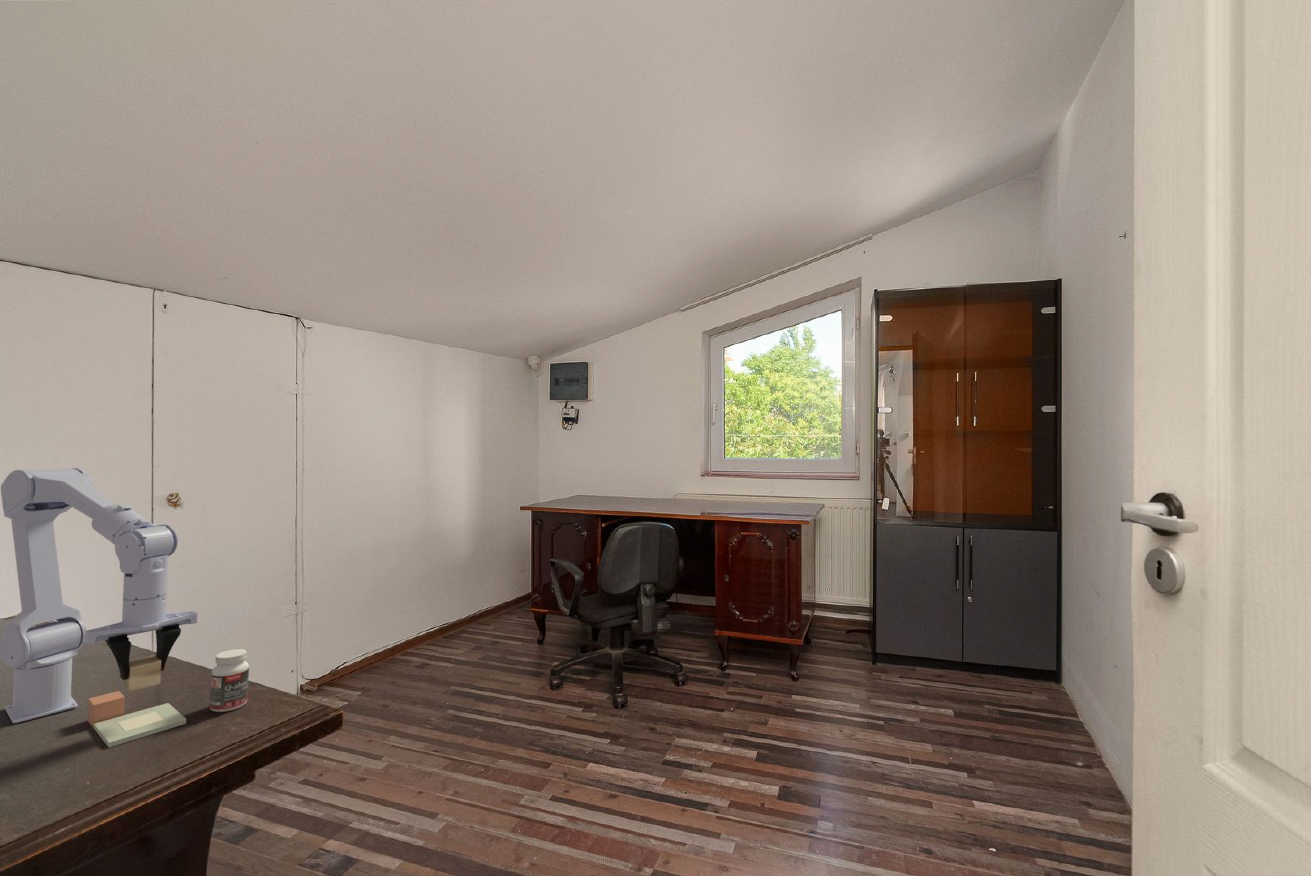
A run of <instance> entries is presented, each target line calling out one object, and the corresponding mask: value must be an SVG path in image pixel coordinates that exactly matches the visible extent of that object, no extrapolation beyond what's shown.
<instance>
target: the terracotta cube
mask: <svg viewBox="0 0 1311 876" xmlns="http://www.w3.org/2000/svg"><path fill="white" fill-rule="evenodd" d="M87 702H88V703H87V706H88V707H87V708H88V709H87V722H88V724H89V725H90V726H91V727H92V729H94V724H95V723H99V722H102V721H106V720H109V719H113V718H116V717H120V716H123V715H125V711H126V710H125V706H126V697H125V695H124V694H123V693H122V692H121V691H120V690H117V691H113V692H109V693H105V694H101V695H97V696H94V697H89V698H88V700H87Z"/></svg>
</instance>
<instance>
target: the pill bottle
mask: <svg viewBox="0 0 1311 876" xmlns="http://www.w3.org/2000/svg"><path fill="white" fill-rule="evenodd" d="M247 654H248V653H247V650H246V649H243V648H238V649H236V648H235V649H229V650H224V651H221V652H219V653H217V654H216V655H215V661H214V662H215V664H216V665H215V666H214V667H213V668H212V669H211V673H210V674H211V677H210V697H209V709H210V710H211V711H212V712H215V713H223V712H231V711H235V710H237V709H240V708H242V707H243V706H245V705H246V704H247V703H248V699H249V698H248V697H249V674H250V673H249V671H250V665H249V663H248V661H245V660H246V659H247V657H248V655H247ZM247 681H248V682H247Z"/></svg>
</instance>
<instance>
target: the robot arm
mask: <svg viewBox="0 0 1311 876" xmlns="http://www.w3.org/2000/svg"><path fill="white" fill-rule="evenodd" d="M0 492H1V493H0V495H1V496H0V497H1V503H2V509H3V516H4V517H5V518H7V519H10V520H11V529H12V538H13V539H12V540H13V544H14V545H13V546H14V547H13V548H14V554H15V556H14V557H15V563H16V573H17V578H18V579H17V581H18V590H19V597H20V599H19V600H20V607H21V608H20V609H21V611H19V613H17V614H16V615H15V616H14V617H13V618H11V619H10V620H9V621H8V622H6V623H5V624H4V625H3V626H2V627H1V638H0V639H1V640H0V659H1V661H2V663H4V664H5V665H6V666H8V667H9V668H13V669H14V671H13V689H12V690H13V693H12V696H13V697H12V703H11V704H6V705H5V706H4V710H5V712H6V713H7V715H8V718H9V719H10V721H11V722H12V724H19V723H21V722H25V721H29V720H33V719H37V718H41V717H45V716H49V715H52V714H53V715H54V714H57V713H61V712H64V711H67V710H71V709H75V708H77V707H78V706H79V705H78V703H77V702H76V700H75V699H74V698H73V697H72V679H73V678H72V675H73V671H72V670H73V657H74V656H77V655H78V650H80V649H82V647H83V646H84V645H85V644H86V645H92V644H96V643H98V642H102V641H105V643H106V645H107V646H108V647H109V649H110V651H111V653H112V655H113V656H114V659H115V661H116V664H117V667H118V671H119V677H120V679H121V680H123V681H124V680H127V679H129V661H130V655H131V648H132V642H131V641H130V638H129V637H128V636H132V635H138V634H142V633H147V632H152V631H154V632H155V640H156V641H155V642H156V643H155V644H156V652H155V656H156V657H157V658H159V659H160V660H161V672H163V671H164V670H165V668H166V663H167V660H168V658H169V655H170V653H171V651H172V648H173V646H174V645H175V643H176V641H177V640H178V638H179V637H180V636H181V633H182V628H181V627H180V626H185V625H194V624H198V612H197V611H195V610H192V611H184V612H177V613H176V612H175V613H167V601H168V600H167V598H168V595H167V594H168V571H169V570H168V569H169V556H171V555H173V554H174V553H175V552H176V550H177V547H178V541H179V539H178V536H177V533H176V531H175V530H174V529H173V528H172V527H171V526H170V525H169V524H167V523H166V524H165V523H164V524H158V523H152V522H150V520H148V519H147V518H144V517H143V516H142V515H140V514H139V513H138V512H136V511H135V510H133V509H132V506H131V505H129V504H128V503H127V504H126V503H125V504H122V503H114V504H113V503H112V502H111V501H110V500H108V498H106V496H105V495H103V494H102V493H101V492H100V491H98V490H97V489H96V488H95V487H94V486H93V477H92V476H91V475H90V474H88V473H87V472H86V471H85V470H84V469H82V468H79V467H74V468H64V469H63V468H62V469H61V468H60V469H30V470H29V469H27V470H25V469H15V470H13V471H11V472H10V473H9V474H8V475H7V476H6V478H4V480H3V482H2V483H1V485H0ZM72 508H73V509H75V510H76V511H78V512H80V513H82V514H83V515H84V516H87V517H88V518H90V519H92V521H91V527H92V529H93V530H94V532H97V533H98V534H99V535H101V536H102V537H104V538H105V539H106V540H107V541H109V542H110V543H111V544H112V545H114V551H115V555H116V558H117V559H118V561H119V570H120V573H123V584H122V585H123V590H122V611H121V615H122V616H121V621H120V622H115V623H112V624H108V625H104V626H100V627H97V628H92V629H87V626H86V625H85V623H84V621H83V619H82V615H81V610H80V609H78V608H75V607H72V606H70V605H68V604H65V603H64V600H63V592H62V584H61V576H60V574H61V573H60V566H59V560H58V559H59V558H58V550H57V542H56V534H55V533H56V532H55V526H54V525H55V524H54V522H55V520H56V519H57V517H59V516H60V515H61V514H63V513H66V512H68V511H69V510H70V509H72ZM52 621H55V622H52ZM48 622H49V623H48ZM43 623H46V624H43ZM40 624H43V625H40ZM37 625H38V626H37Z"/></svg>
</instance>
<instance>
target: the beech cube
mask: <svg viewBox="0 0 1311 876" xmlns="http://www.w3.org/2000/svg"><path fill="white" fill-rule="evenodd" d="M161 679H162V671H161V660H160V659H159V658H157V657H156V654H155V655H154V654H153V655H149V656H145V657H139V658H137V659H130V660H129V679H127V680H123V686H124V687H125V688H126V689H127V690H128V691H129V692H133V691H137V690H141V689H145V688H148V687H152V686H156V685H160V684H161Z"/></svg>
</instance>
